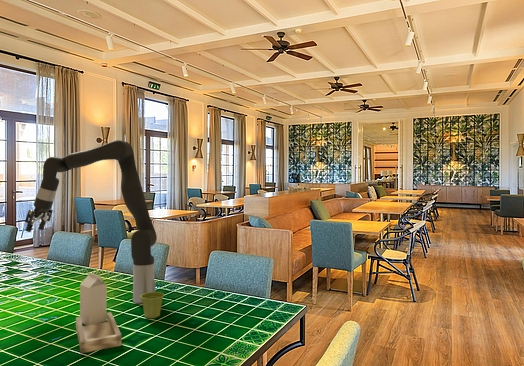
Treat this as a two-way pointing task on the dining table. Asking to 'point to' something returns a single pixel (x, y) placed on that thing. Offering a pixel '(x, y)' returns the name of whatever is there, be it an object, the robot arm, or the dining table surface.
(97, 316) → the milk carton
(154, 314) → the plant pot
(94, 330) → the u rest
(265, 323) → the dining table surface
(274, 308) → the dining table surface
